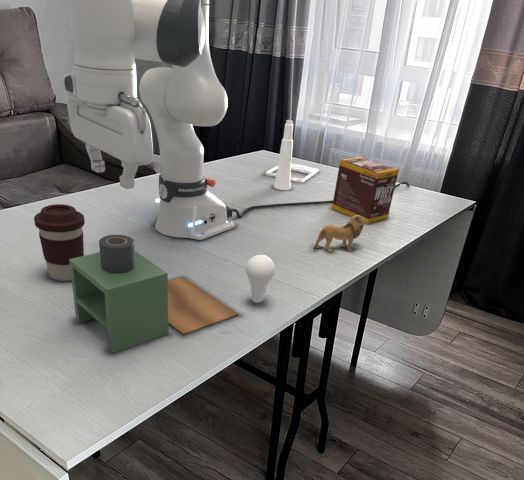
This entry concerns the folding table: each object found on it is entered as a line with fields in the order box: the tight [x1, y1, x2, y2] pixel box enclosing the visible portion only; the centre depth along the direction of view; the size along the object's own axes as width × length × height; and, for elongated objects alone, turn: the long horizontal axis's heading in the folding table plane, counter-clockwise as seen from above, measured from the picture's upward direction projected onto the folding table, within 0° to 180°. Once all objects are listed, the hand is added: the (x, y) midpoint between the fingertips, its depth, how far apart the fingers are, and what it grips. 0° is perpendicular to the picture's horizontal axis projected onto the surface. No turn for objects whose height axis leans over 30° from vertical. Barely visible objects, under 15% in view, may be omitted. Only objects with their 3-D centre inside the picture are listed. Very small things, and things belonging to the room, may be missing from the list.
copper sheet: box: [168, 276, 239, 336], centre depth 114 cm, size 14×20×1 cm
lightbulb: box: [245, 254, 276, 304], centre depth 115 cm, size 6×6×11 cm
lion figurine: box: [312, 215, 365, 253], centre depth 145 cm, size 15×5×9 cm, turn 116°
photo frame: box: [265, 162, 320, 184], centre depth 204 cm, size 15×1×18 cm
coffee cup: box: [33, 203, 85, 282], centre depth 117 cm, size 10×10×15 cm
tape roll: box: [98, 234, 136, 273], centre depth 96 cm, size 6×6×5 cm
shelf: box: [69, 250, 169, 354], centre depth 101 cm, size 12×14×13 cm
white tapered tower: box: [273, 119, 294, 191], centre depth 182 cm, size 6×6×22 cm
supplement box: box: [331, 156, 400, 225], centre depth 169 cm, size 10×15×16 cm
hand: (112, 179), depth 89 cm, fingers open, 8 cm apart
